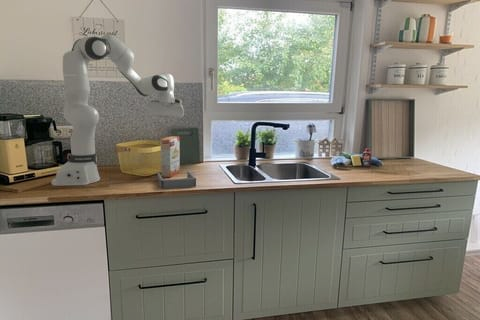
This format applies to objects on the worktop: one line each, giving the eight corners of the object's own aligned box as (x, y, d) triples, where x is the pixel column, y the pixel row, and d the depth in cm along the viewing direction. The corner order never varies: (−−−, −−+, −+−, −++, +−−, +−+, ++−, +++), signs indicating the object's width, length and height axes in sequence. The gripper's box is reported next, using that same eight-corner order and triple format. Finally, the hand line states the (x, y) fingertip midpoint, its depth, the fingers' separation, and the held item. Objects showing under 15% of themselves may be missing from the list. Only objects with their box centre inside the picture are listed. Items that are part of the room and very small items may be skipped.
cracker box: (171, 177, 186) (170, 139, 181) (160, 177, 187) (159, 139, 183) (180, 171, 199) (180, 136, 195) (170, 171, 200) (170, 135, 196)
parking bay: (161, 188, 166) (161, 180, 165) (157, 179, 181) (157, 172, 181) (196, 186, 172) (196, 178, 171) (189, 177, 187) (189, 170, 186)
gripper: (148, 98, 196) (148, 122, 195) (184, 101, 203) (184, 124, 202) (148, 101, 202) (147, 124, 201) (182, 103, 209) (182, 125, 208)
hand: (166, 124), depth 201 cm, fingers closed
